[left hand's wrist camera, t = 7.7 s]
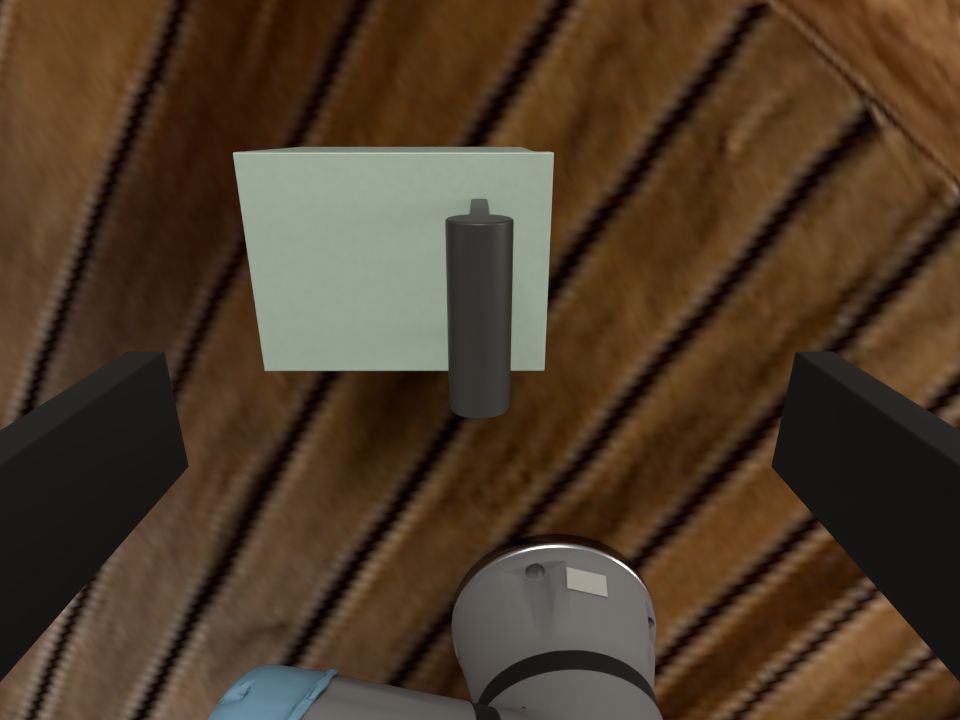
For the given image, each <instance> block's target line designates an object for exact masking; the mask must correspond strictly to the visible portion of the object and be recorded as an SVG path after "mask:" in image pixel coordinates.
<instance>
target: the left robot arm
mask: <svg viewBox="0 0 960 720" xmlns="http://www.w3.org/2000/svg"><path fill="white" fill-rule="evenodd" d="M187 468H188V462H187V457H186V452H185V447H184V443H183V438H182V433H181V429H180V424H179V419H178V415H177V410H176V405H175V400H174V396H173V391H172V386H171V382H170V377H169V372H168V367H167V363H166V358H165V353H164V352H126V353H125V354H123V355H121V356H120V357H118V358H116V359H115V360H113V361H112V362H110V363H108V364H107V365H105V366H104V367H102V368H100V369H99V370H97V371H96V372H94V373H92V374H91V375H89V376H88V377H86V378H84V379H83V380H81V381H79V382H78V383H76V384H75V385H73V386H71V387H70V388H68V389H67V390H65V391H63V392H62V393H60V394H59V395H57V396H55V397H54V398H52V399H50V400H49V401H47V402H46V403H44V404H42V405H41V406H39V407H38V408H36V409H34V410H33V411H31V412H30V413H28V414H26V415H25V416H23V417H22V418H20V419H18V420H17V421H15V422H13V423H12V424H10V425H9V426H7V427H5V428H4V429H2V430H1V431H0V682H1V681H2V679H3V678H4V677H5V676H6V675H7V674H8V673H9V671H10V670H11V669H12V668H13V667H14V666H15V665H16V663H17V662H18V661H19V660H20V659H21V658H22V657H23V655H24V654H25V653H26V652H27V651H28V650H29V649H30V647H31V646H32V645H33V644H34V643H35V642H36V640H37V639H38V638H39V637H40V636H41V635H42V634H43V632H44V631H45V630H46V629H47V628H48V627H49V626H50V624H51V623H52V622H53V621H54V620H55V619H56V618H57V616H58V615H59V614H60V613H61V612H62V611H63V610H64V608H65V607H66V606H67V605H68V604H69V603H70V602H71V600H72V599H73V598H74V597H75V596H76V595H77V594H78V592H79V591H80V590H81V589H82V588H83V587H84V586H85V584H86V583H87V582H88V581H89V580H90V579H91V578H92V576H93V575H94V574H95V573H96V572H97V571H98V570H99V568H100V567H101V566H102V565H103V564H104V563H105V561H106V560H107V559H108V558H109V557H110V556H111V555H112V553H113V552H114V551H115V550H116V549H117V548H118V547H119V545H120V544H121V543H122V542H123V541H124V540H125V539H126V537H127V536H128V535H129V534H130V533H131V532H132V531H133V529H134V528H135V527H136V526H137V525H138V524H139V523H140V521H141V520H142V519H143V518H144V517H145V516H146V515H147V513H148V512H149V511H150V510H151V509H152V508H153V507H154V505H155V504H156V503H157V502H158V501H159V500H160V499H161V497H162V496H163V495H164V494H165V493H166V492H167V491H168V489H169V488H170V487H171V486H172V485H173V484H174V482H175V481H176V480H177V479H178V478H179V477H180V476H181V474H182V473H183V472H184V471H185V470H186V469H187ZM772 468H773V469H774V470H775V471H776V472H777V473H778V474H779V476H780V477H781V478H782V479H783V480H784V481H785V482H786V484H787V485H788V486H789V487H790V488H791V489H792V491H793V492H794V493H795V494H796V495H797V496H798V497H799V499H800V500H801V501H802V502H803V503H804V504H805V505H806V507H807V508H808V509H809V510H810V511H811V512H812V513H813V515H814V516H815V517H816V518H817V519H818V520H819V521H820V523H821V524H822V525H823V526H824V527H825V528H826V529H827V531H828V532H829V533H830V534H831V535H832V536H833V537H834V539H835V540H836V541H837V542H838V543H839V544H840V545H841V547H842V548H843V549H844V550H845V551H846V552H847V553H848V555H849V556H850V557H851V558H852V559H853V560H854V561H855V563H856V564H857V565H858V566H859V567H860V568H861V570H862V571H863V572H864V573H865V574H866V575H867V576H868V578H869V579H870V580H871V581H872V582H873V583H874V584H875V586H876V587H877V588H878V589H879V590H880V591H881V592H882V594H883V595H884V596H885V597H886V598H887V599H888V600H889V602H890V603H891V604H892V605H893V606H894V607H895V608H896V610H897V611H898V612H899V613H900V614H901V615H902V616H903V618H904V619H905V620H906V621H907V622H908V623H909V624H910V626H911V627H912V628H913V629H914V630H915V631H916V632H917V634H918V635H919V636H920V637H921V638H922V639H923V640H924V642H925V643H926V644H927V645H928V646H929V647H930V649H931V650H932V651H933V652H934V653H935V654H936V655H937V657H938V658H939V659H940V660H941V661H942V662H943V663H944V665H945V666H946V667H947V668H948V669H949V670H950V671H951V673H952V674H953V675H954V676H955V677H956V678H957V679H958V681H959V682H960V431H959V430H958V429H956V428H955V427H953V426H951V425H950V424H948V423H947V422H945V421H943V420H942V419H940V418H938V417H937V416H935V415H934V414H932V413H930V412H929V411H927V410H926V409H924V408H922V407H921V406H919V405H918V404H916V403H914V402H913V401H911V400H910V399H908V398H906V397H905V396H903V395H901V394H900V393H898V392H897V391H895V390H893V389H892V388H890V387H889V386H887V385H885V384H884V383H882V382H881V381H879V380H877V379H876V378H874V377H872V376H871V375H869V374H868V373H866V372H864V371H863V370H861V369H860V368H858V367H856V366H855V365H853V364H852V363H850V362H848V361H847V360H845V359H844V358H842V357H840V356H839V355H837V354H835V353H834V352H796V353H795V358H794V363H793V367H792V372H791V377H790V382H789V386H788V391H787V396H786V400H785V405H784V410H783V415H782V419H781V424H780V429H779V433H778V438H777V443H776V447H775V452H774V457H773V462H772ZM452 638H453V645H454V650H455V653H456V656H457V659H458V661H459V663H460V666H461V668H462V670H463V673H464V677H465V680H466V683H467V687H468V690H469V693H470V696H471V699H472V702H473V703H472V702H469V701H464V700H459V699H454V698H449V697H444V696H439V695H434V694H430V693H425V692H420V691H415V690H410V689H405V688H400V687H395V686H390V685H385V684H380V683H375V682H371V681H366V680H361V679H356V678H351V677H346V676H341V675H338V673H339V672H338V670H335V669H329V670H327V671H326V672H323V671H316V670H309V669H302V668H295V667H288V666H282V665H264V666H260V667H257V668H255V669H253V670H251V671H249V672H247V673H246V674H245V675H243V676H242V677H241V678H239V679H238V680H237V681H236V682H235V683H234V684H233V685H232V686H231V687H230V689H229V690H228V691H227V692H226V693H225V695H224V696H223V697H222V699H221V700H220V701H219V703H218V704H217V706H216V707H215V709H214V710H213V712H212V713H211V715H210V716H209V718H208V719H207V720H663V719H662V716H661V713H660V710H659V707H658V704H657V701H656V697H655V694H654V674H655V642H656V619H655V612H654V607H653V603H652V600H651V597H650V595H649V592H648V589H647V587H646V584H645V582H644V580H643V578H642V576H641V574H640V573H639V572H638V570H637V569H636V568H635V566H634V565H633V564H632V563H631V562H630V561H629V560H628V559H627V558H625V557H624V556H623V555H622V554H620V553H619V552H617V551H616V550H614V549H612V548H611V547H609V546H607V545H605V544H602V543H600V542H597V541H594V540H592V539H588V538H584V537H580V536H573V535H564V534H547V535H538V536H532V537H527V538H523V539H519V540H516V541H513V542H510V543H508V544H506V545H503V546H501V547H499V548H497V549H496V550H494V551H492V552H490V553H489V554H487V555H486V556H485V557H483V558H482V559H481V560H480V561H478V562H477V563H476V564H475V565H474V566H473V567H472V568H471V569H470V570H469V572H468V573H467V574H466V575H465V577H464V578H463V580H462V582H461V583H460V585H459V587H458V589H457V592H456V595H455V598H454V603H453V610H452Z"/></svg>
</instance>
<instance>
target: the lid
mask: <svg viewBox="0 0 960 720" xmlns="http://www.w3.org/2000/svg"><path fill="white" fill-rule="evenodd" d="M233 157H234V164H235V171H236V178H237V184H238V191H239V198H240V205H241V212H242V218H243V225H244V232H245V239H246V246H247V253H248V259H249V266H250V273H251V280H252V287H253V293H254V300H255V307H256V314H257V321H258V327H259V334H260V341H261V348H262V355H263V362H264V368H265V371H448V376H449V407H450V409H451V410H452V412H454V413H455V414H457V415H459V416H462V417H465V418H470V419H489V418H494V417H498V416H500V415H502V414H504V413H505V412H507V411H508V409H509V407H510V379H511V371H544V368H545V345H546V322H547V299H548V276H549V254H550V231H551V208H552V185H553V162H554V153H553V152H234V153H233Z"/></svg>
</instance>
